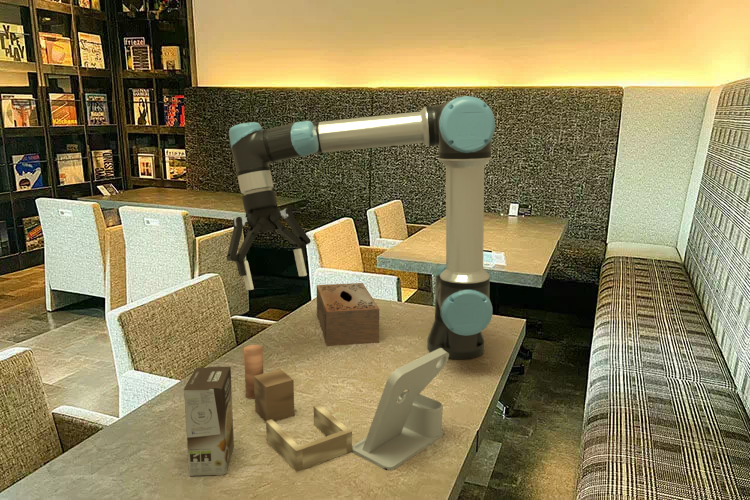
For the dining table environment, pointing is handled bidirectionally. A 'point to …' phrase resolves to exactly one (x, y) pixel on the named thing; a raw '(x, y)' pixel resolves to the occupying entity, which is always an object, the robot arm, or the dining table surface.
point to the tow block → (267, 387)
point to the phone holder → (405, 414)
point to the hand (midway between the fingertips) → (277, 282)
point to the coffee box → (209, 420)
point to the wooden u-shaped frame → (317, 450)
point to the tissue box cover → (347, 314)
